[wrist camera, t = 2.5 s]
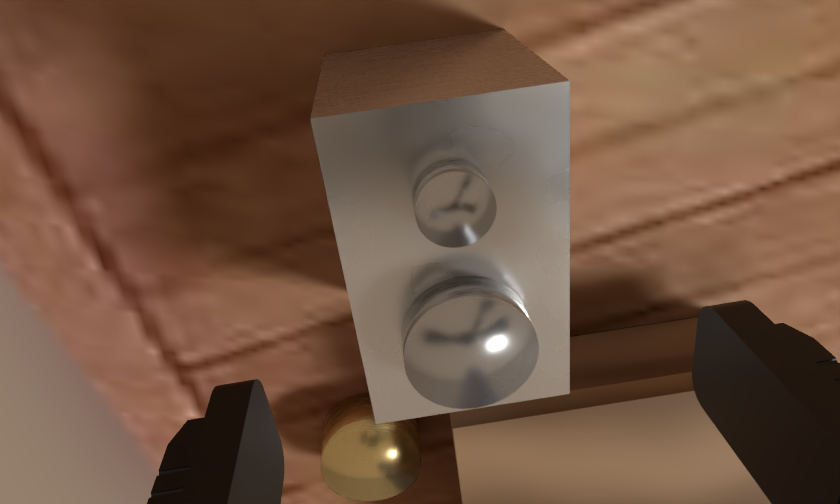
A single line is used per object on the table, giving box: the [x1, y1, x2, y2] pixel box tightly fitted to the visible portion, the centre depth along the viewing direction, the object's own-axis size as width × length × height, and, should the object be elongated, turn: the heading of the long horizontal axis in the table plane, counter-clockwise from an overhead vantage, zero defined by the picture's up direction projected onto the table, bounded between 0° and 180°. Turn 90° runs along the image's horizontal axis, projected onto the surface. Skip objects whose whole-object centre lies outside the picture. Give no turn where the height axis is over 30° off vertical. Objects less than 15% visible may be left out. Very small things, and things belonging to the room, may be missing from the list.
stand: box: [450, 317, 771, 504], centre depth 23 cm, size 11×11×4 cm
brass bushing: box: [321, 393, 421, 501], centre depth 23 cm, size 4×4×2 cm
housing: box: [310, 29, 570, 424], centre depth 16 cm, size 8×5×7 cm, turn 7°
